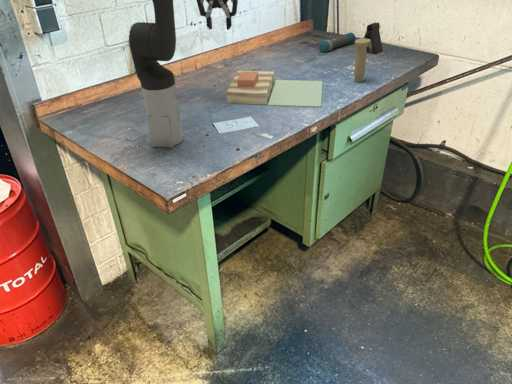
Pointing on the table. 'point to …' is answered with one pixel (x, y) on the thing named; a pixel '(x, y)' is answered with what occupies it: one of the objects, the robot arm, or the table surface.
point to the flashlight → (337, 42)
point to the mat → (296, 93)
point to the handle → (360, 58)
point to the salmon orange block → (247, 79)
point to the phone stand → (374, 38)
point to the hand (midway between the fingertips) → (219, 28)
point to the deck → (251, 89)
